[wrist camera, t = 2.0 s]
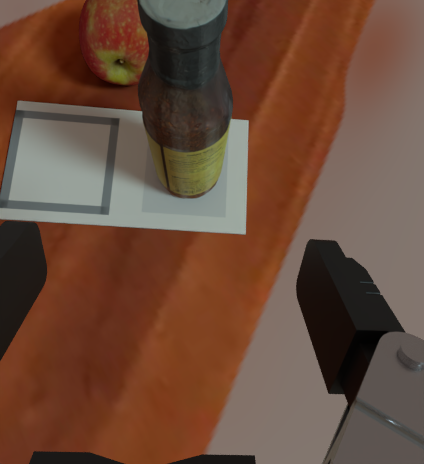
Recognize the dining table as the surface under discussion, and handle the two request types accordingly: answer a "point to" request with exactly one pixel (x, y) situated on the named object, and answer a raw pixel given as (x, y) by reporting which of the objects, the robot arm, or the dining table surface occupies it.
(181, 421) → the dining table surface
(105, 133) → the mat
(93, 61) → the apple
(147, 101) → the sauce bottle
